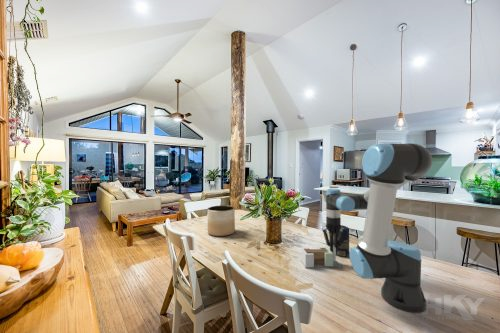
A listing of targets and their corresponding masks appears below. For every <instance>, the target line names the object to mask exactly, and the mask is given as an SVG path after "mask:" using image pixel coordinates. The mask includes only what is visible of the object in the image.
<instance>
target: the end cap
mask: <svg viewBox="0 0 500 333" xmlns="http://www.w3.org/2000/svg"><path fill="white" fill-rule="evenodd" d="M319 249H327V251H328V252H329V253H325V266H333V253H332V252H331V251H330V248H329V247H328V246H319Z"/></svg>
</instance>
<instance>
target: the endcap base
mask: <svg viewBox="0 0 500 333" xmlns="http://www.w3.org/2000/svg"><path fill="white" fill-rule="evenodd" d="M305 249H310V248H309V247H301V248H300V261H301V263H302V265H303V266H304V268H305V269H323V268H324V269H328V268H329V269H331V268H332V269H333V268H337V269H338V268H343V266H342V265H341V264H340V263H339V262H338V261H337V259H333V266H325V265H314V254H313V253H306V251H305Z"/></svg>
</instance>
